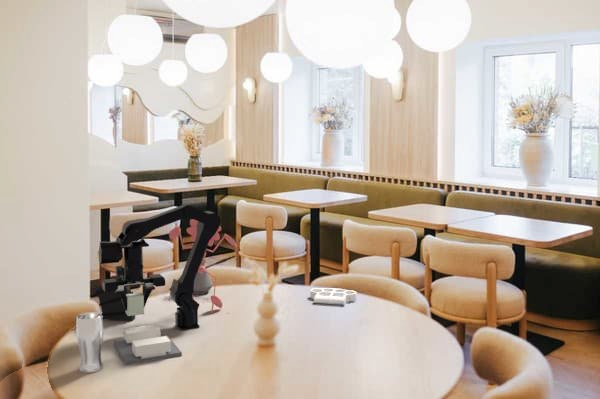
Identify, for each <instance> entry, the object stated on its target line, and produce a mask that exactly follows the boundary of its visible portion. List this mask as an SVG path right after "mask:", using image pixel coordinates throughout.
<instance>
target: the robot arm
mask: <svg viewBox="0 0 600 399" xmlns="http://www.w3.org/2000/svg"><path fill="white" fill-rule="evenodd" d="M186 218H190V219H193V220H194V219H195V220H197V221H198V224H197V236H196V239H195V241H194V242H193V243H192V246H193V247H192V248H190V249H191V250H190V252H189V255H188V257H187V260H186V262H185V265H184V268H183V270H182V274H181V275H180V276H179V277H178V279H175V278H173V280H172V283H171V287H170V288H169V289H168V290H169V296H170V299H171V300H172V301H173V302H174V303H175V305H176V306H177V307H176V312H175V313H174V316H175V317H174V318H175V321H174V322H175V326H177V328H178V329H179V330H180V331H181V330H189V329H190V330H191V329H195V328H200V325H199V319H198V318H199V316H198V312H199V307H200V303H199V302H198V301H196V299H195V298H194V299H193V296H194V294H193V293H194V280H195V277H196V275H197V272H198V269H199V267H200V264H201V261H202V259H203V258H204V254H205V251H206V252H207V250H206V249H208V247H209V246H208V243H209V241H210V239H211V238H212V237H213V236H214V235H215V234H216V232H217V230H218V229H219V227H221V224H222V219H221V216H219V214H217V213H216V212H213V211H210V210H206V211H204V210H201V209H199V208H197V207H194V206H193V205H192V204H189V203H186V202H185V203H182V204H181V205H179V206H176V207H174V208H171V209H168V210H166V211H163V212H160V213H157V214H155V215H152V216H149V217H146V218H145V217H144V218H137V219H132V220H128V221H126V222H124V223H123V224H122V227H121V231H120V233H119V235H118V236H117V237H116V239H115V241H99V248H98V251H97V253H98V254H97V255H98V256H97V257H98V262H99V263H98V264H99V265H104V264H105V265H106V264H115V263H120V261H122V260H123V265H116V266H115V276H116V277H122V279H125V281H117V280H116V279H117V278H107V279H103V280H102V283H101V286H102V288H103V290H104V291H105V292H113V291H114V292H115V293H116V294H119V295H120V297H121V300H122V303H123V305H124V308H125V310H126V311H127V300H126V291H125V290H124V287H126V286H129V287H132V286H141V287H142V294H143V296H144V308H145V306H146V304H147V301H148V299H149V297H150V296H151V293H152V291H153V290H154V291H155V290H156V288H157V287H165V286H166V279H165V277H164V276H163V275H161V274H160V273H158V274H157V273H156V274H149V275H148V278H147V277H146V278H144V263H143V262H144V261H143V260H144V257H143V256H144V253H143V250H144V249H143V248H145V247H146V248H147V247H149V246H150V244H149V243H148V242H147V241H146V240H145V239H144V238H146V237H147V236H148V235H150V234H151V233H152V232H154V231H155V230H157V229H160V228H162V227H164V226H167V225H170V224H173V223H176V222H178V221H181V220H183V219H186Z"/></svg>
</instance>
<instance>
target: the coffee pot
mask: <svg viewBox="0 0 600 399" xmlns="http://www.w3.org/2000/svg"><path fill="white" fill-rule="evenodd" d="M232 259H235V261H237V260H238V259H237V256H236V255H234V254H233V255H232V256H229V257H225V258H222V259H220V260H218V261H216V262H214V263H212V264H208V265H206V266H205V263H206V262H207V260H206V258H205V259H204V263H203V266H204V267H205V270H206V271H207V269H209V268H211V267H214V266H216V265H219V264H223V263H226V262H227V261H229V260H232ZM202 262H203V259H202V261H201V264H200V266H202ZM206 271H205V272H204V273H199V272H197V275H196V277H195V280H194V293H193V295H203V294H208V292H209V291H211V289H212V287H213V282H212V279H211V277H210V274H208V273H207V272H208V271H207V272H206Z"/></svg>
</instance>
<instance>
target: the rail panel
mask: <svg viewBox="0 0 600 399" xmlns="http://www.w3.org/2000/svg"><path fill="white" fill-rule="evenodd" d="M113 346H114V347H115V349H116V351H117V352H118V354H119V356H120V358H121V359H122V361H123V363H124V365H125V366H126V365H132V364H138V363H144V362H149V361H150V362H151V361H155V360H162V359H169V358H174V357H175V358H176V357H182V354H183V353H182V351H181V350H180V348H179V347H178V346H177V345H176V344H175V343H174V342H173V340H172V338H170V337H169V335H168V334H167V333H161V327H159V325H158V324H148V325H141V326H135V327H126V328H123V339H118V340H114V341H113Z"/></svg>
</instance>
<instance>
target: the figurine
mask: <svg viewBox="0 0 600 399" xmlns="http://www.w3.org/2000/svg"><path fill="white" fill-rule="evenodd" d="M197 224H198V221H197V220H195V219H193V218H190V220H189V227H187V228H186V233H187V234H188V235H190V241H191V242H193V243H194V241H195V239H196V236H197ZM181 231H182V229H181V227H180V226H179V225H178V226H175V227H173V228H171V230H170V231H169V233H168V237H169V239H170V240H171V241H172V240H174V239H176V238H178V237H179V239H180V242H181V247H182V249H192V247H193V245H191V246H190V245H189V246H185V245H184V242H183V238H182V234H181V233H182V232H181ZM221 231H222V227H221V226H220V227H219V229H218V230H217V232H216V234H215V235H214V236H213V237H212V238H211V239H210V241H209V243H208V246H207V247H212V246H214V242H215V241H219V242H218V243H217V244H216V246H215V247H214V249H212V250H211V249H208V248H206V251H205V254H204V256H203V262H202V266H200V267H199V269H198V272H199V273H204V272H205V271H206V270H207V269H206V270H205V267H206V266H205V265H204V266H205V267H204V266H203V263H204V259H205V260H206V255H207V252H210V253H214V252H215V251H216V249H218V247H219V245H221V243H223V241H224V239H225V240H226V241H227V242H228V243H229V244H230V245H231V246H234V248H236V249H237V248H238V244H237V242H236V241H235V239H234V238H232V237H231V236H230V235H228V234H227V233H224V235H223V237H221V236H220V233H219V232H221ZM220 238H221V239H220ZM206 272H207V273H208V275H209V276H211V277H213V278H214V288H213V294H212V295H211V296H210V300H205V301H204V300H203V301H201V300H200V301H198V303H202V302H203V303H205V302H206V303H208V302H209V303H212V304H211V312H210V314H213V312H214V306H216V307H217V308H220V309H222V307H223V301H222V299H220V298H219V297H218V296H217V295H216V286H217V285H216V283H217V278H216V277H215V275H213V274H212V273H210V272H208V271H206ZM193 299H194V300H195V297H194V295H193ZM227 314H228V315H229V312H228V313H226V315H227Z"/></svg>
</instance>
